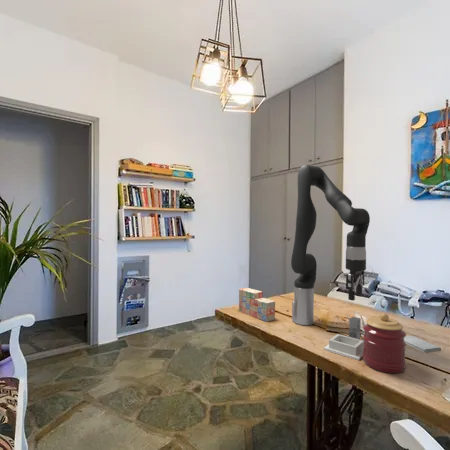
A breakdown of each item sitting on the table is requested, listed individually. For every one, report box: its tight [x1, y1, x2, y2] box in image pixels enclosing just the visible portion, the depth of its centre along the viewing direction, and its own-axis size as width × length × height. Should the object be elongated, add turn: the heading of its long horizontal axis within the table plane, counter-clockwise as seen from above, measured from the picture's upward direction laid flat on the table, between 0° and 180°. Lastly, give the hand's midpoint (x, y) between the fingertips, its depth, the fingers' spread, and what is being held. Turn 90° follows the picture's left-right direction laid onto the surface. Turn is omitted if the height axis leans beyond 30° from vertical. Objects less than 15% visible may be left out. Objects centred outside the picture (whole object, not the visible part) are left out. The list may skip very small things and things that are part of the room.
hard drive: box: [404, 335, 442, 353], centre depth 119 cm, size 2×8×12 cm
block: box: [348, 316, 364, 341], centre depth 119 cm, size 6×4×10 cm, turn 47°
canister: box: [362, 312, 407, 374], centre depth 102 cm, size 13×13×18 cm
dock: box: [323, 333, 364, 361], centre depth 114 cm, size 13×11×4 cm
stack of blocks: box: [238, 287, 276, 323], centre depth 155 cm, size 21×6×12 cm, turn 36°
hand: (355, 298), depth 120 cm, fingers open, 8 cm apart
